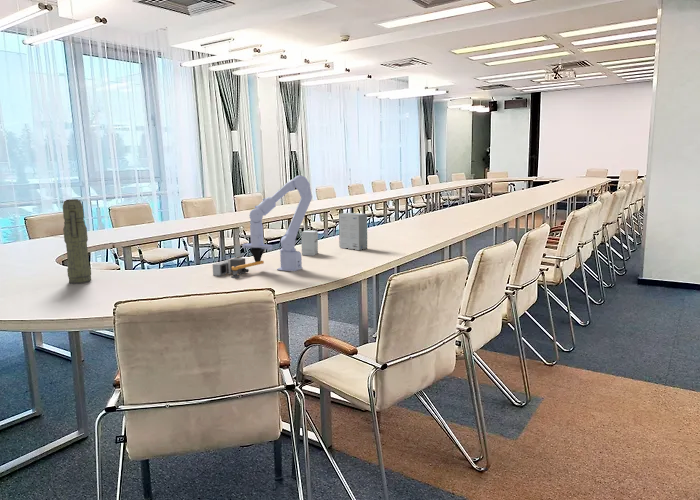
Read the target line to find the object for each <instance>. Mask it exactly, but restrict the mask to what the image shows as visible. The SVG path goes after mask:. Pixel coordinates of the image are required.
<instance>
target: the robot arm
mask: <svg viewBox="0 0 700 500" xmlns="http://www.w3.org/2000/svg"><path fill="white" fill-rule="evenodd" d="M296 190H297V191H298V194H299V196H300V198H299V199H300V200H299V202H298V204H297V207H296V209H295V212H294V213H293V217H292V219H291V221H290V223H289V226H288V228H287V230H286V232H285V234H284V235H283V236H281V239H280V247H281V248H280V249H279V255H280V267H278V268H276V270H277V271H284V272H285V271H287V272H297V271H300V270H302V269H303V266H302V264H303V262H302V252H300V251H298V250H297V249H296V248H295V247H296V239H297V236H298V233H299V230H300V228H301V225H302V223H303V220H304V218H305V215H306V213H307V211H308V209H309V206H310V204H311V201H312V198H313V195H312V191H311V184H310V181H308V179H307V177H306V176H304V175H302V174H300V175H296V176H295V177H294V178H292V179H290V180H288V181H287V182H286V183H285V184H283V186H282V187H281V188H280V189H278V191H276V192H275V193H273V195H272V196H267V197H263V198H262V199H261V200H262V201H261V202H260V203H259V204H258V205H255V206H254V208H253V209H251V210H250V212H249V219H250V221H249V223H250V225H249V227H250V228H249V232H250V233H249V234H250V243H242V245H241V246H242V249H250V251H249V252H250V253H251V255H252V257H253V260H254V262H258V261H262V260H261V259H262V256H263V254H264V251H265V250H268V251H270V250H273V245H272V244H267V243H266V244H265V243H264V228H263V227H264V226H263V218H264V216H266V215H268V214H269V213H271V212H272V211H273V209H274V208H276V203H277V202H278V201H280V200H281V199H282V198H283V197H285V196H286V195H287V193H289V192H293V191H296Z"/></svg>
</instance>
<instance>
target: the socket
mask: <svg viewBox="0 0 700 500" xmlns="http://www.w3.org/2000/svg"><path fill="white" fill-rule="evenodd" d="M228 274H229V269H228V259H225V260H222V261H220V262H219V261H218V262H216V263H212V276H217V277H221V276H224V275H228Z"/></svg>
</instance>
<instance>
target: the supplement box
mask: <svg viewBox="0 0 700 500" xmlns="http://www.w3.org/2000/svg"><path fill="white" fill-rule="evenodd" d="M300 234H301V235H300V237H301V239H300V240H301V256H316V255H318V254H319V244H318V243H319V242H318V241H319V237H318V234H319V233H318V230H303V231H301V233H300Z"/></svg>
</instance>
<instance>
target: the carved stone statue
mask: <svg viewBox="0 0 700 500" xmlns="http://www.w3.org/2000/svg"><path fill="white" fill-rule="evenodd" d="M62 214H63V215H62V216H63V220H64V222H63V223H64V225H63V230H62V231H63V239H64V240H63V241H64V243H65V247H66V255H67V256H66V257H67V265H68V266H67V269H66V270H67V277H68V283H69V284H73V285H76V284H79V285H80V284H86V283H89V282H91V281H92V268H91V265H90V262H89V251H88V250H89V249H88V240H89V239H88V229H87V225H86V224H85V220H84V219H85V214H84V205H83V203H82V201H81V200H80V199H76V198H72V199H65V200H63V203H62Z"/></svg>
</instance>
